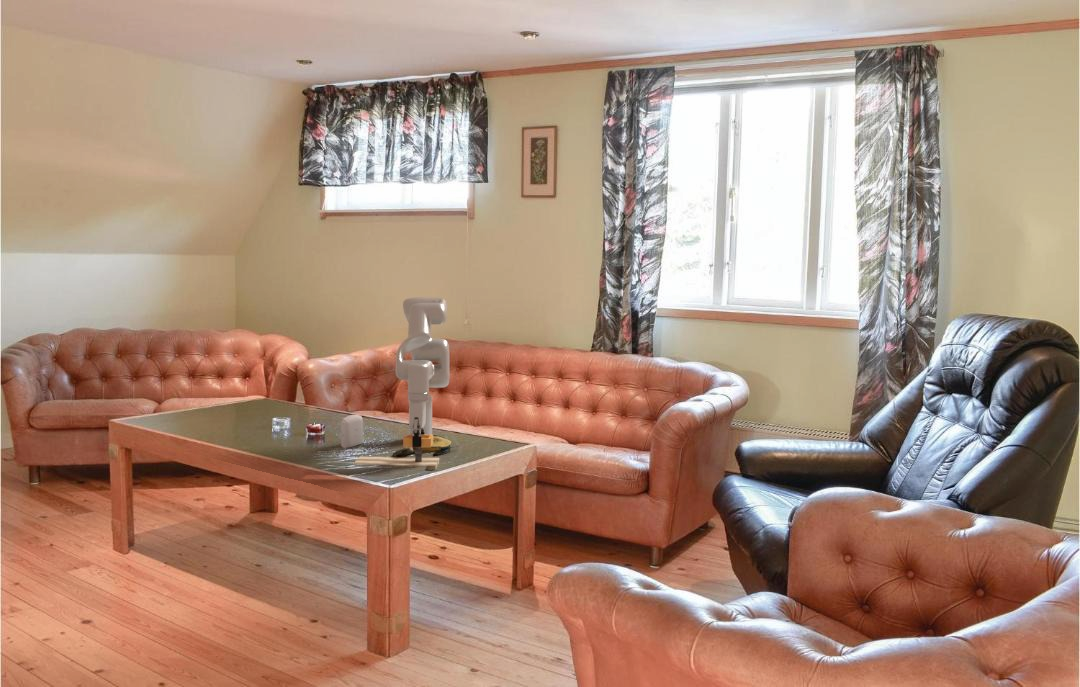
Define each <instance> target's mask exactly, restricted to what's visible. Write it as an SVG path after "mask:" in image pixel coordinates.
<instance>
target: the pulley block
mask: <svg viewBox="0 0 1080 687" xmlns="http://www.w3.org/2000/svg"><path fill="white" fill-rule="evenodd" d="M432 435H433V445H432V446H431V448H426V447H421V448H422V450H423V452H422V454H428V453H429V454H430V453H433V454H432V455H433V456H434V455H436V456H437V455H440V456H441V455H445V454H447V453H449V452H450V451H451V449H453V448H457V447H459V445H456V446H451V444H452V440H449V439H447V438H446V437H443V436H441V435H437V434H432ZM415 448H416V447H403V448H401V449H398V450H396V451H395V452H393V453H392V457H403V456H406V455H410V454H415V452H414V450H415Z"/></svg>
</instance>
